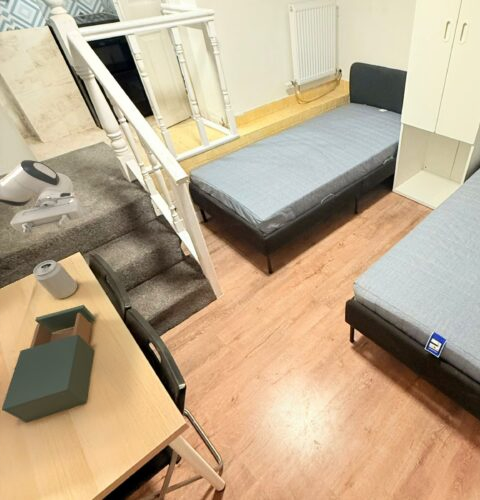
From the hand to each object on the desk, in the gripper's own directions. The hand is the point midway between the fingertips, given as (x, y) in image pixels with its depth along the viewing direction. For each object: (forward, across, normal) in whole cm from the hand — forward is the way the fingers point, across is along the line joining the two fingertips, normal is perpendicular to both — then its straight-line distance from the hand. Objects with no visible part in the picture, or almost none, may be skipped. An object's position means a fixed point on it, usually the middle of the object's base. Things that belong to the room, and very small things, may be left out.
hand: (43, 230), depth 107 cm
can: (+12, 0, +17) cm, 21 cm away
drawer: (+35, +5, +16) cm, 39 cm away
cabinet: (+47, +5, +17) cm, 50 cm away
